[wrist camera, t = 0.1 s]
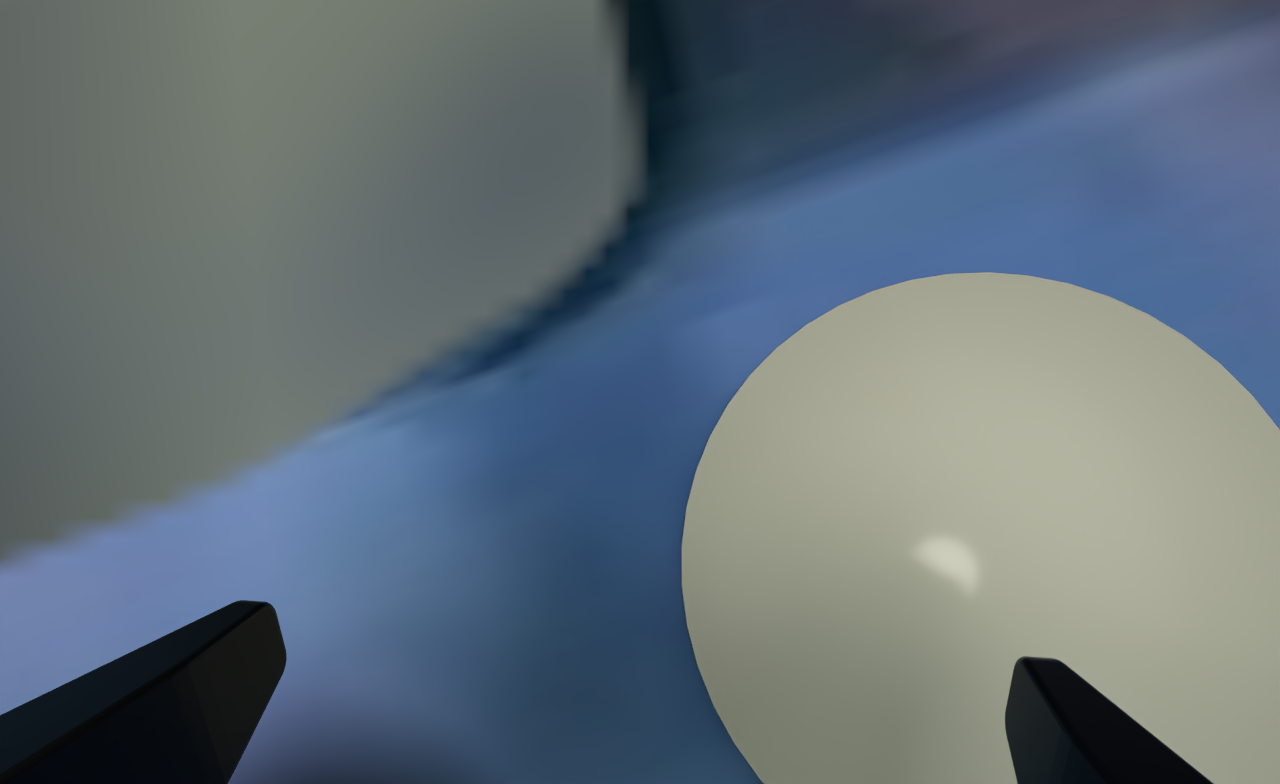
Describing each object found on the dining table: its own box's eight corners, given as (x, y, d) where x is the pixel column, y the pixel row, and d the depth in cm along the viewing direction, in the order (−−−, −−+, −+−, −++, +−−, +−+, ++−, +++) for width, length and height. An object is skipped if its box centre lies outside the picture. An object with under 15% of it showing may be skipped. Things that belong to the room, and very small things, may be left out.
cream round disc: (1475, 731, 20) (1497, 737, 20) (863, 1016, 21) (867, 1031, 20) (1090, 182, 24) (1098, 173, 24) (589, 436, 25) (585, 434, 24)
